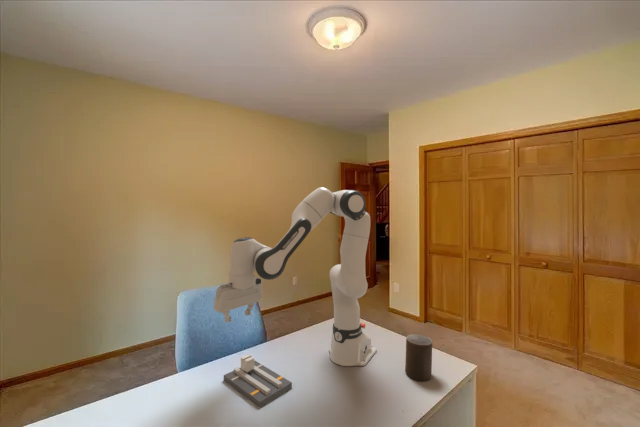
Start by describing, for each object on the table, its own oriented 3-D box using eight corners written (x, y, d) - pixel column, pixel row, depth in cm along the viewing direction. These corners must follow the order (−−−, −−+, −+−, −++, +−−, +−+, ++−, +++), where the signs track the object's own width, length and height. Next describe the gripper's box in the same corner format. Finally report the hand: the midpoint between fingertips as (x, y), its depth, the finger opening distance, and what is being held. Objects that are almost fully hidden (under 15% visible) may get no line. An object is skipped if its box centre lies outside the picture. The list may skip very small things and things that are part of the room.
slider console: (254, 365, 119) (254, 357, 119) (291, 388, 105) (291, 379, 105) (223, 380, 109) (223, 372, 109) (259, 408, 94) (259, 398, 94)
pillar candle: (418, 384, 107) (419, 343, 107) (399, 370, 116) (400, 333, 116) (437, 377, 112) (438, 338, 111) (417, 365, 120) (418, 329, 120)
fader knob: (248, 367, 113) (248, 354, 113) (254, 371, 111) (254, 357, 110) (240, 371, 111) (240, 357, 111) (246, 375, 108) (246, 361, 108)
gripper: (223, 287, 98) (220, 328, 98) (265, 278, 115) (263, 313, 115) (211, 284, 102) (208, 323, 102) (254, 275, 119) (252, 309, 119)
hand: (238, 318), depth 109 cm, fingers open, 8 cm apart
